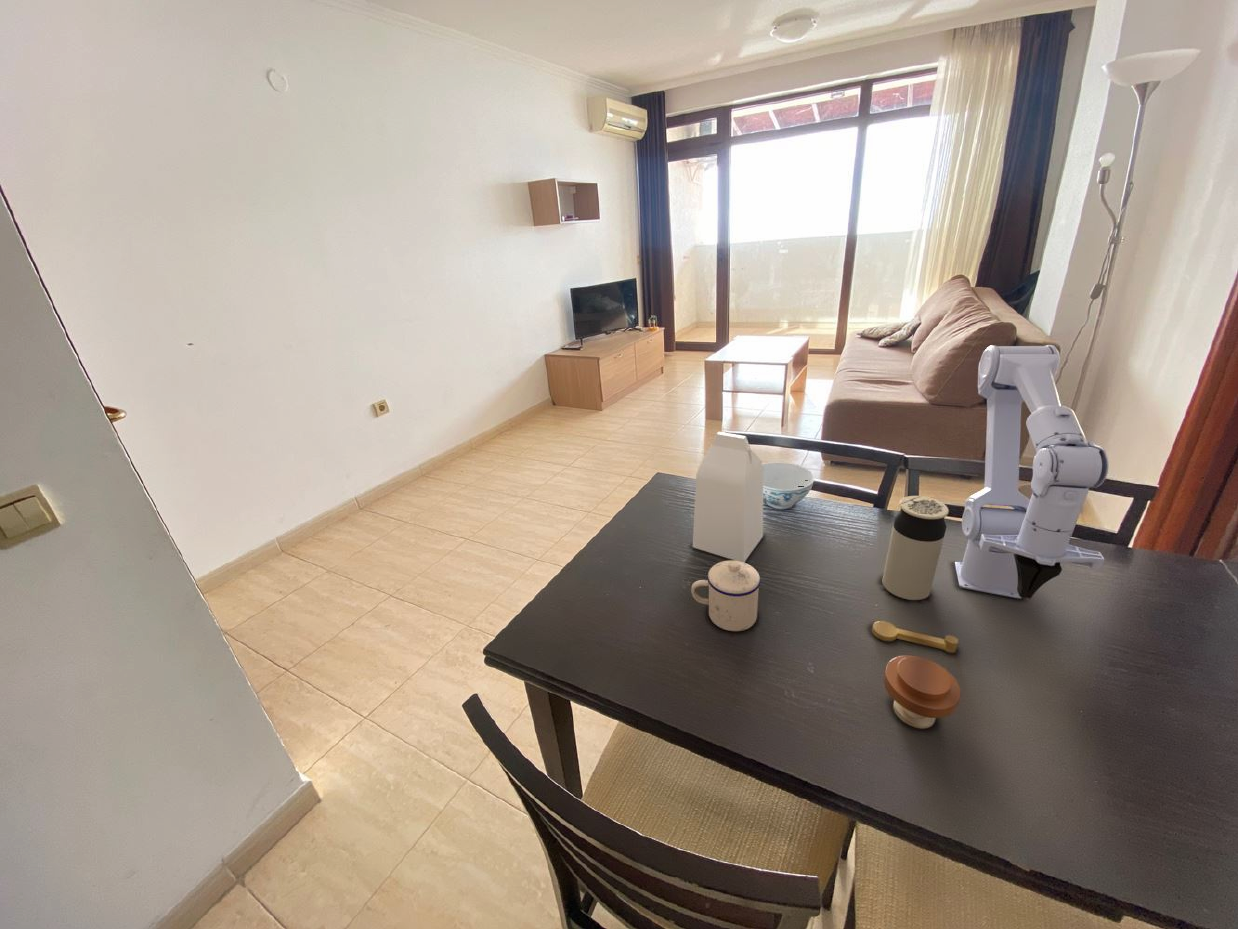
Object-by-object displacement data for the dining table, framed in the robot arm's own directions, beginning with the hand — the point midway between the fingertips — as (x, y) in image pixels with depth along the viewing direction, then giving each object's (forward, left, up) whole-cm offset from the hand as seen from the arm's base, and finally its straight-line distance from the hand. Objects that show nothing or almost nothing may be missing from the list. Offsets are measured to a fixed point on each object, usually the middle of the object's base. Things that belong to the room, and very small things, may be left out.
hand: (1023, 594), depth 79 cm
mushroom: (+15, +22, -8) cm, 28 cm away
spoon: (+16, +7, -8) cm, 19 cm away
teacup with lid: (+45, +12, -9) cm, 47 cm away
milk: (+50, -11, -9) cm, 52 cm away
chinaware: (+42, -32, -9) cm, 53 cm away
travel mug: (+15, -7, -9) cm, 19 cm away
